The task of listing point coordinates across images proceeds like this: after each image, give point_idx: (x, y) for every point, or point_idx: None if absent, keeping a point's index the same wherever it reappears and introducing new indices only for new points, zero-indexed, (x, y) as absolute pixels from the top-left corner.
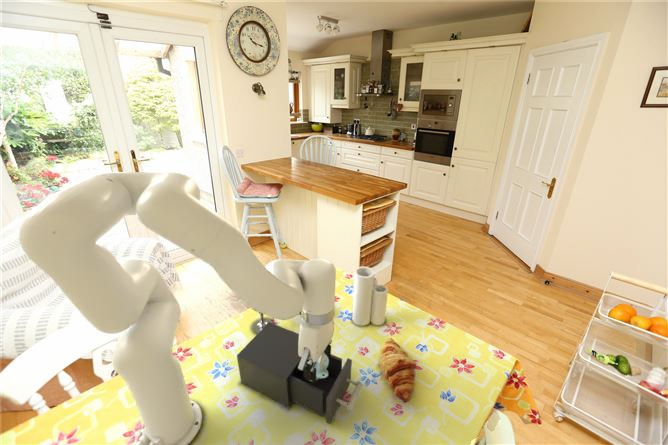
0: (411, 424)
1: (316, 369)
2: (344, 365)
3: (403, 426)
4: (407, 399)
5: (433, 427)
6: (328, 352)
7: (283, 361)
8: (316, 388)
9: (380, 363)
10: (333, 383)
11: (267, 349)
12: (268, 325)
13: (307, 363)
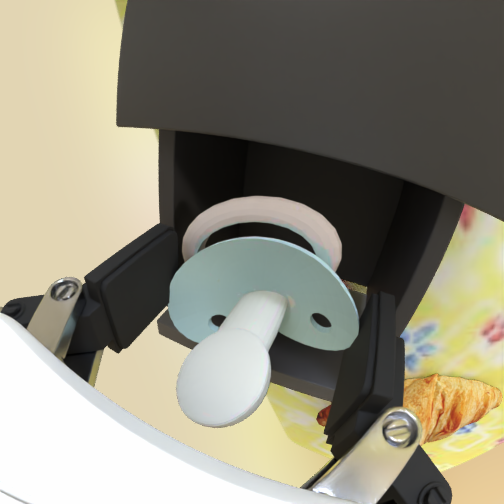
0: (292, 399)
1: (248, 279)
2: (326, 389)
3: (284, 389)
4: (318, 422)
5: (295, 419)
6: (338, 384)
7: (210, 24)
8: None
9: (422, 395)
10: (350, 265)
11: None
12: None
13: (81, 320)
